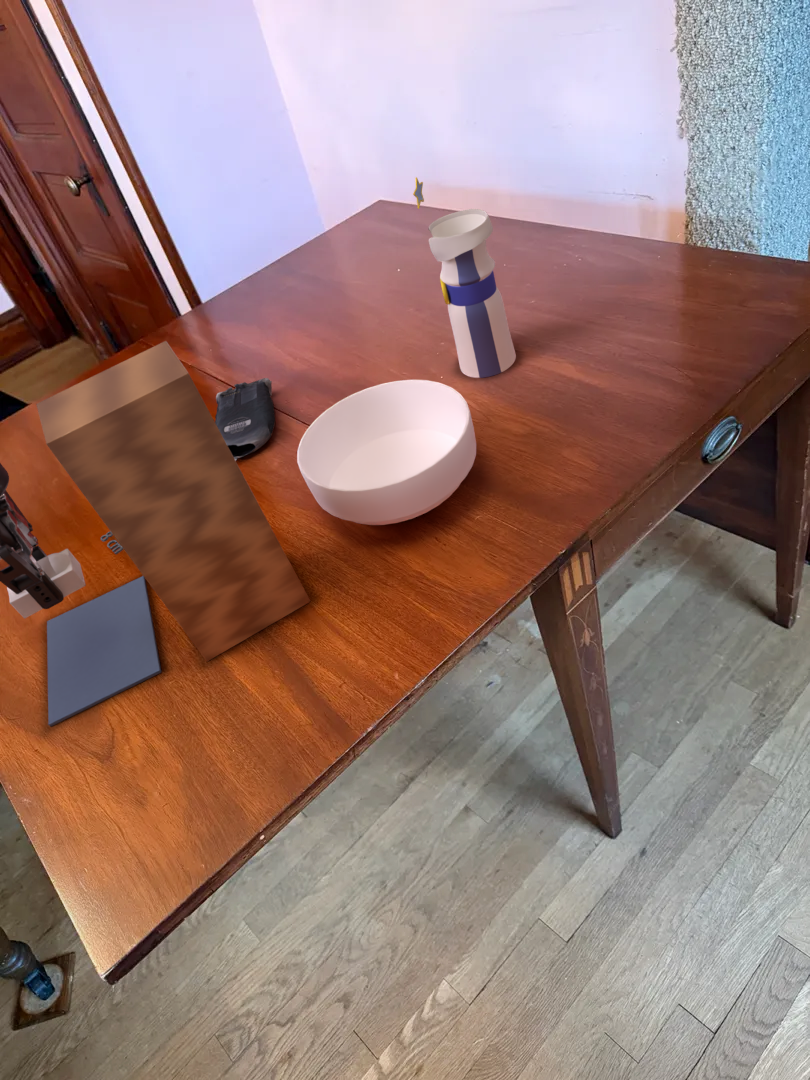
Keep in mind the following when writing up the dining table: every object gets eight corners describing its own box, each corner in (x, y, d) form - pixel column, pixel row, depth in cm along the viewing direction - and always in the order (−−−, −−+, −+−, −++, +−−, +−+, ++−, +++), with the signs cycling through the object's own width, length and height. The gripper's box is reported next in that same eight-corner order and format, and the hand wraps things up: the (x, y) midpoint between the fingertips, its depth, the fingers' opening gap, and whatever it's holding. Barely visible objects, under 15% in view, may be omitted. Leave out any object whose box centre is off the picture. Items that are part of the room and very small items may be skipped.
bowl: (516, 495, 81) (502, 432, 75) (354, 577, 78) (327, 519, 73) (441, 416, 95) (424, 359, 90) (302, 483, 93) (276, 429, 87)
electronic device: (219, 421, 112) (210, 467, 100) (209, 387, 109) (197, 430, 97) (280, 409, 113) (278, 454, 100) (271, 375, 110) (268, 416, 97)
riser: (206, 661, 75) (46, 444, 57) (187, 615, 81) (35, 403, 63) (310, 601, 78) (188, 373, 59) (284, 560, 83) (165, 340, 65)
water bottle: (459, 386, 99) (411, 197, 83) (455, 354, 105) (409, 172, 89) (521, 371, 98) (484, 176, 81) (513, 339, 104) (477, 152, 87)
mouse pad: (161, 672, 76) (159, 670, 76) (50, 726, 75) (48, 724, 74) (145, 577, 88) (143, 575, 88) (48, 623, 87) (46, 621, 86)
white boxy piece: (24, 619, 73) (0, 595, 71) (20, 595, 76) (-2, 572, 74) (86, 585, 74) (66, 560, 72) (80, 563, 77) (60, 539, 75)
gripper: (-104, 443, 68) (11, 570, 80) (-110, 521, 58) (23, 653, 69) (-25, 405, 70) (77, 535, 81) (-18, 475, 59) (98, 612, 71)
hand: (51, 589), depth 75 cm, fingers closed on white boxy piece, 4 cm apart
